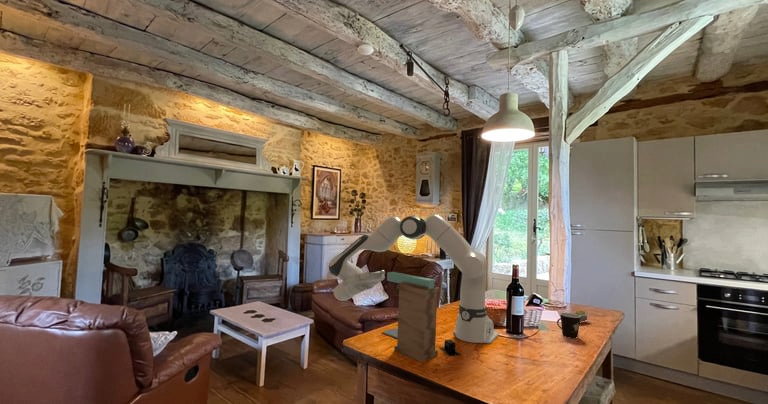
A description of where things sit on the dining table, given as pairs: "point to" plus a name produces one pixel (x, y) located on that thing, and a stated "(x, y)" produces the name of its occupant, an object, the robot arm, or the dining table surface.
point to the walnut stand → (417, 321)
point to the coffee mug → (569, 324)
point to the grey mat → (391, 332)
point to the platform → (582, 315)
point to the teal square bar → (410, 279)
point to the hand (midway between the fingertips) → (376, 272)
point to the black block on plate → (450, 348)
